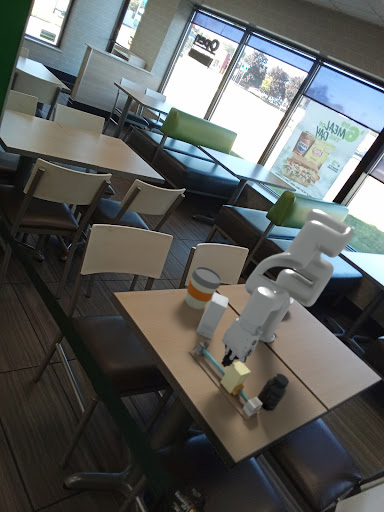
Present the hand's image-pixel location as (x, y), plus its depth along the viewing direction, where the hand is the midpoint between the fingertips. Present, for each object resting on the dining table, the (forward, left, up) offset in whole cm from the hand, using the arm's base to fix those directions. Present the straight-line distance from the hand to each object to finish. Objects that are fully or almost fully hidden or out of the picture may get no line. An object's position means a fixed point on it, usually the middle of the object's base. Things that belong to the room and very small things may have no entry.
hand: (225, 364), depth 129 cm
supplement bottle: (-10, +15, -7) cm, 19 cm away
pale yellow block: (-1, +5, -7) cm, 8 cm away
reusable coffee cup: (-20, -37, -7) cm, 43 cm away
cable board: (-1, +2, -7) cm, 7 cm away
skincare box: (-12, -21, -7) cm, 26 cm away
